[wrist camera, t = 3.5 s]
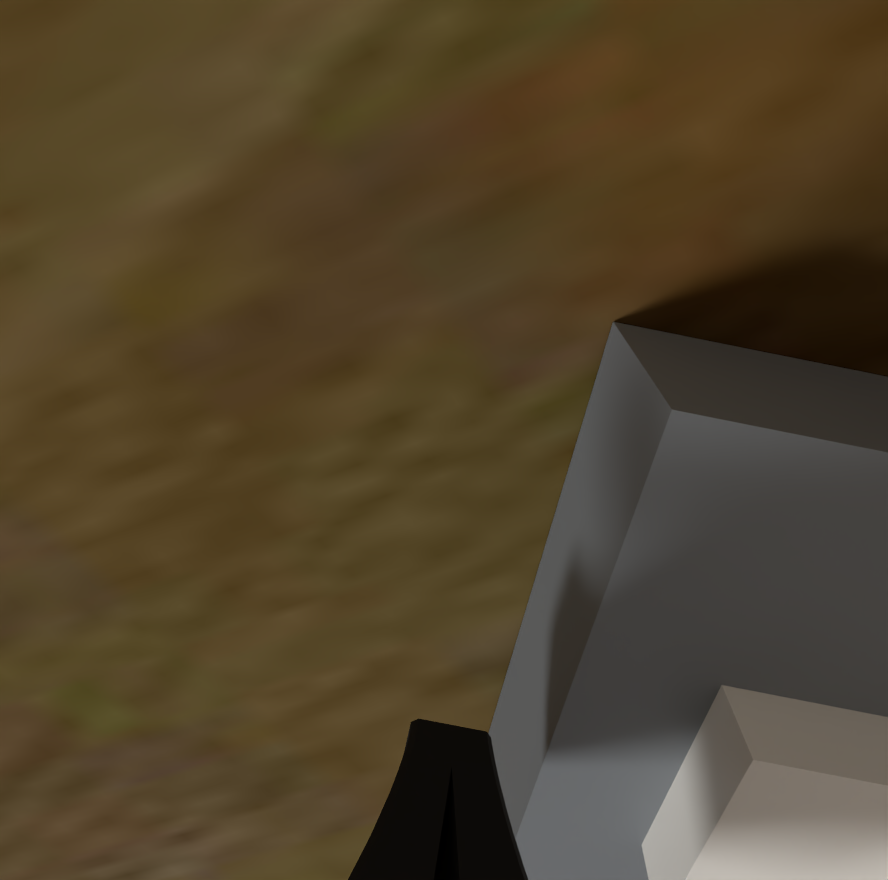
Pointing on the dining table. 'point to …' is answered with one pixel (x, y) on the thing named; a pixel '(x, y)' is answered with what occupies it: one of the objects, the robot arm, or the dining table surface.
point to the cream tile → (776, 795)
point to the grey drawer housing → (690, 583)
